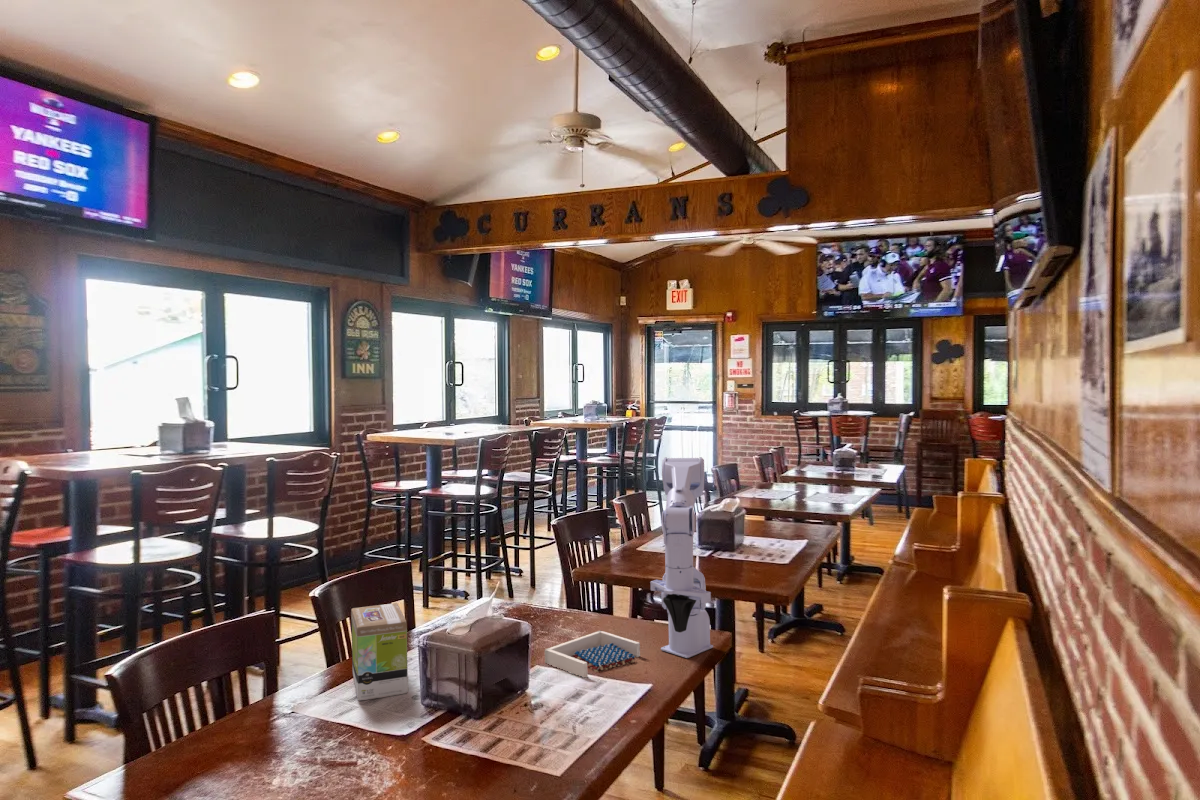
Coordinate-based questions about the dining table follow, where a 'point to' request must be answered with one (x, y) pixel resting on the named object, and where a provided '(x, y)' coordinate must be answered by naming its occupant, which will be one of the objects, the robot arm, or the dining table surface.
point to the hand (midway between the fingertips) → (680, 630)
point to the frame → (563, 652)
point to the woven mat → (604, 657)
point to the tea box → (379, 651)
